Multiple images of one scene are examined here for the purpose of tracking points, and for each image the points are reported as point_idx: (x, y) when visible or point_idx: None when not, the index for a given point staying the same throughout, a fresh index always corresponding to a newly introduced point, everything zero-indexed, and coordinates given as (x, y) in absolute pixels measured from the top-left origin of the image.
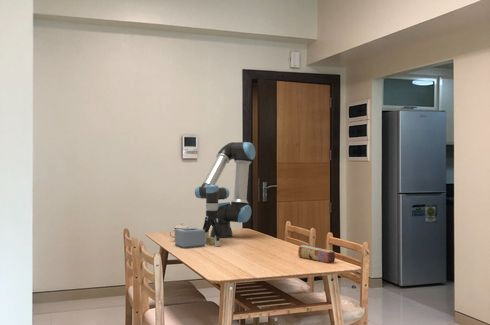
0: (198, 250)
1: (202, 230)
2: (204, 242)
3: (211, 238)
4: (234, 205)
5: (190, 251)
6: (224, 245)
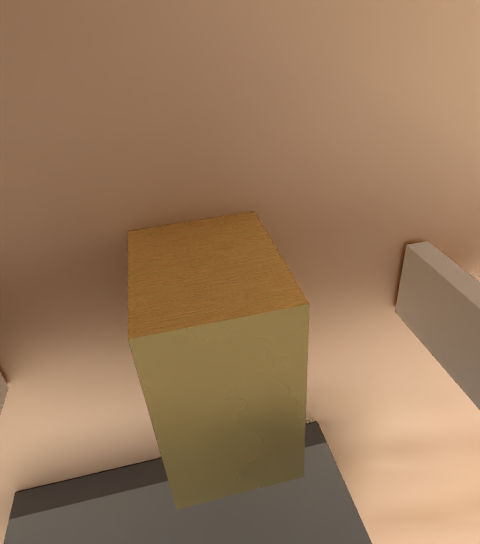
0: (474, 485)
1: None
2: (341, 479)
3: (301, 429)
4: None
5: (462, 529)
6: (417, 105)
